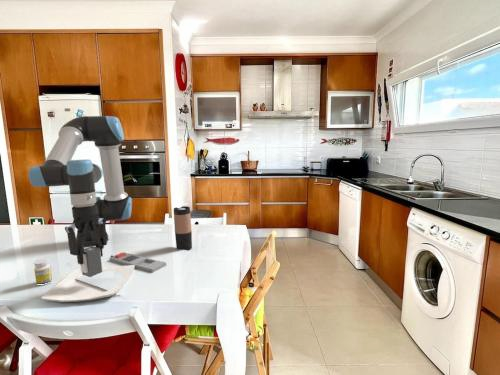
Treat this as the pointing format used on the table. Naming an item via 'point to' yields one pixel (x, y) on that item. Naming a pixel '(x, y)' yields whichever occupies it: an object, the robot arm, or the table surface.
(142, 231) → the table surface
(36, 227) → the table surface
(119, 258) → the power strip
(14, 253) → the table surface
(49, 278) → the supplement bottle
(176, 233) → the travel mug
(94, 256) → the block
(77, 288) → the plate
